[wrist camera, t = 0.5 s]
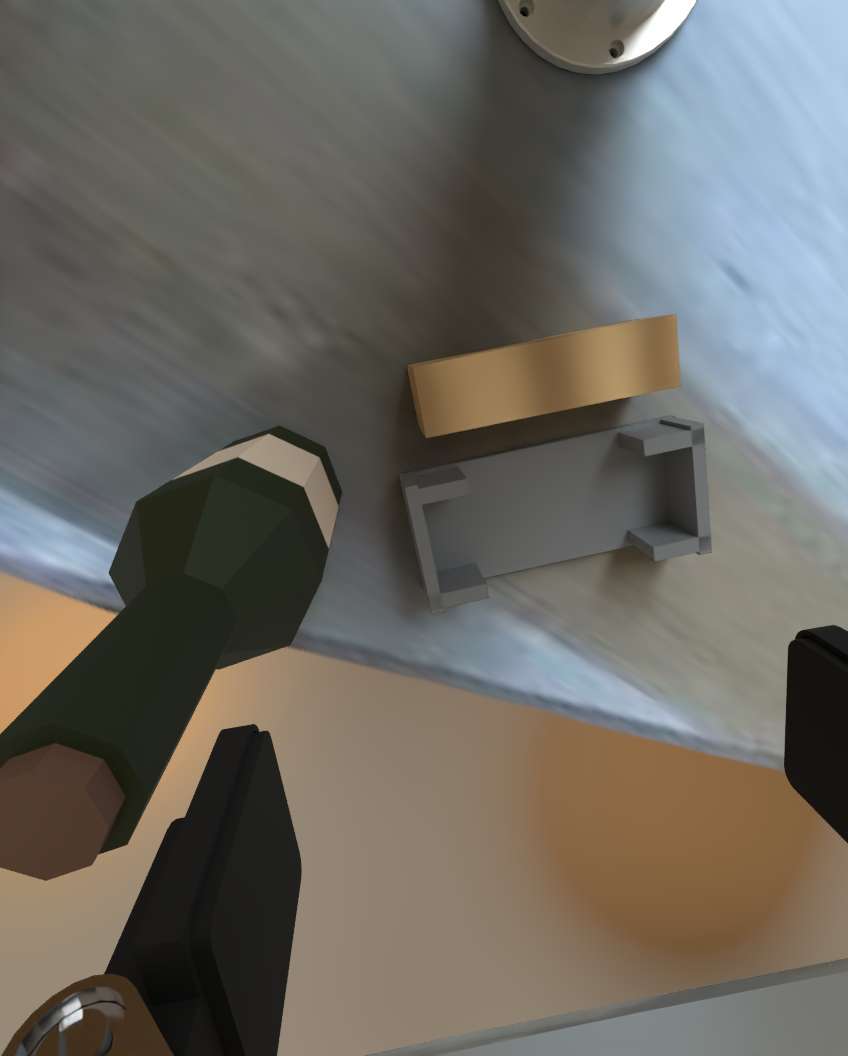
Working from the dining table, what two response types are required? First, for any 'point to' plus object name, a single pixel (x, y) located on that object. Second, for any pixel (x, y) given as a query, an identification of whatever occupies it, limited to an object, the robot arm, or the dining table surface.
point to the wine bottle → (166, 644)
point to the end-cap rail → (558, 505)
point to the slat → (545, 375)
